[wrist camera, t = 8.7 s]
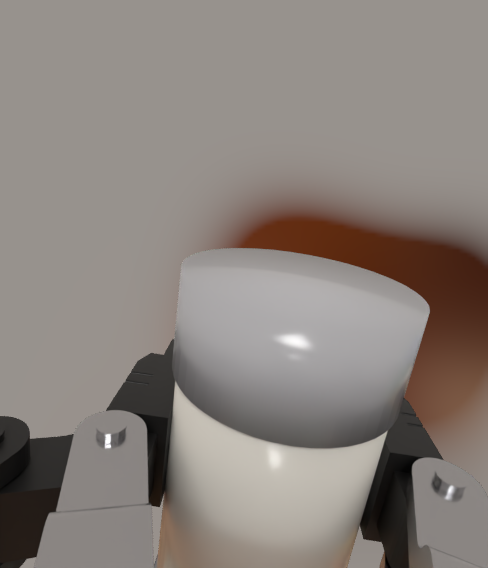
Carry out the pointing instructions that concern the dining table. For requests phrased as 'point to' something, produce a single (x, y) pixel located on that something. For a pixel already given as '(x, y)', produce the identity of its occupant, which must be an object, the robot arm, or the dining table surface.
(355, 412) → the fuse
